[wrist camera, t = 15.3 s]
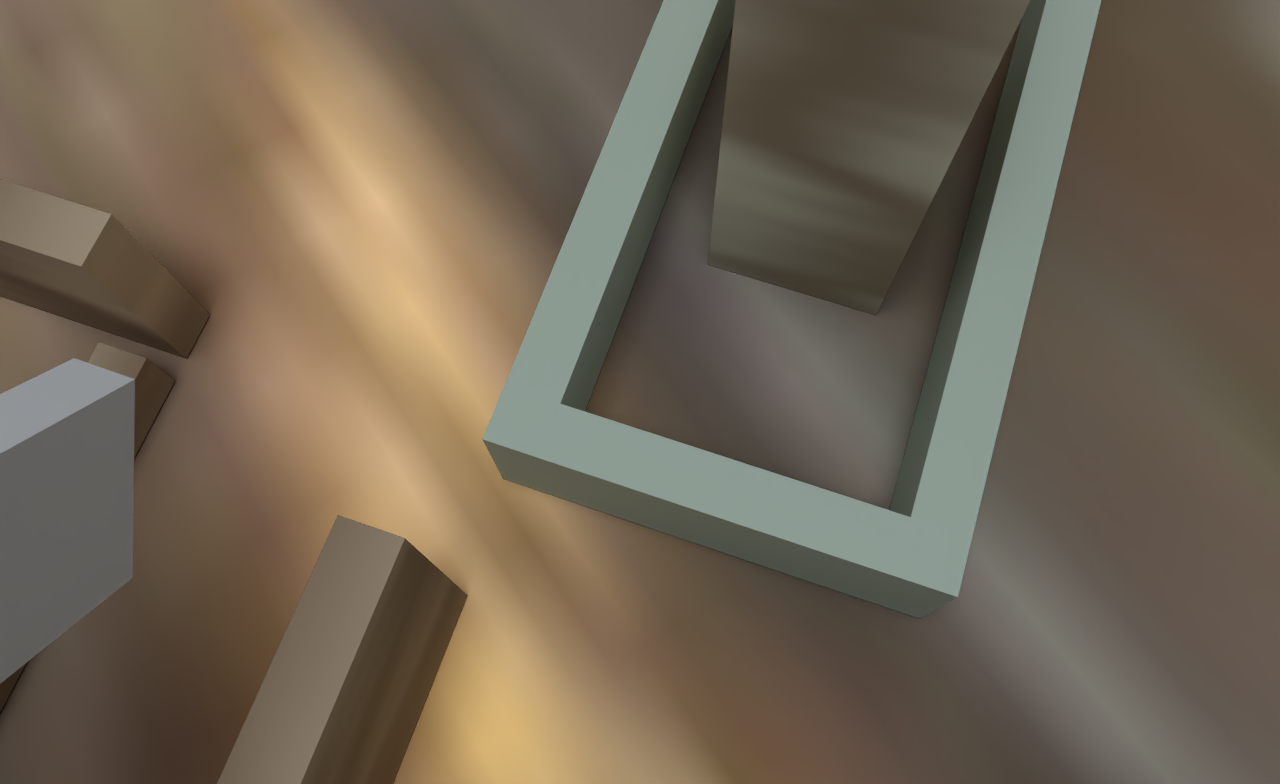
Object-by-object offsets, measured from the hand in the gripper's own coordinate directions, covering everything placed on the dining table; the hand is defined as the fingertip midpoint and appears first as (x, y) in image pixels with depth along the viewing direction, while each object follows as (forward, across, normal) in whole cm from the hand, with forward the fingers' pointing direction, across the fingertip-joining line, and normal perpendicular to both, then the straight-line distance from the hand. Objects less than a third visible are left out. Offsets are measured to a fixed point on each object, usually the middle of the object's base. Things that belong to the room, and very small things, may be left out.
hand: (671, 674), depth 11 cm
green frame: (+13, 0, +3) cm, 14 cm away
